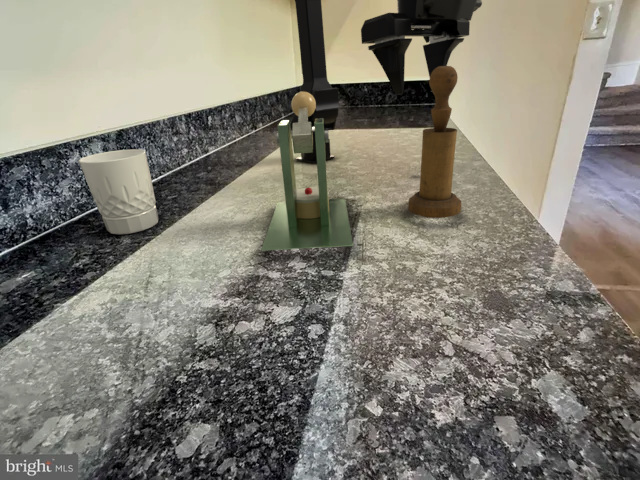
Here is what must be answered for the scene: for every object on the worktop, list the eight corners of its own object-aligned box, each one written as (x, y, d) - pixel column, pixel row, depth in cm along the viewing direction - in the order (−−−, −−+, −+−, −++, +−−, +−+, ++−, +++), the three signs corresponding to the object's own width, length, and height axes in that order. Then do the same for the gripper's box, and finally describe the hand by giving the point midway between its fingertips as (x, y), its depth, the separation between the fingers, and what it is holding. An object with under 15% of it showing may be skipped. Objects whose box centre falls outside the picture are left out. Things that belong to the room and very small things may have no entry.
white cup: (174, 217, 54) (158, 149, 50) (134, 239, 47) (111, 162, 43) (133, 214, 57) (114, 149, 52) (89, 234, 50) (63, 161, 46)
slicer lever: (293, 111, 50) (290, 88, 48) (316, 109, 50) (314, 86, 47) (290, 157, 42) (286, 132, 40) (317, 155, 42) (315, 130, 40)
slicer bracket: (278, 209, 54) (267, 116, 49) (345, 205, 54) (342, 111, 48) (262, 260, 40) (244, 135, 34) (353, 255, 40) (350, 128, 34)
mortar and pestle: (462, 210, 49) (478, 63, 42) (457, 228, 44) (474, 64, 37) (413, 206, 52) (419, 67, 44) (402, 222, 47) (407, 68, 39)
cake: (291, 206, 52) (289, 183, 50) (329, 204, 52) (328, 180, 50) (288, 220, 47) (285, 195, 45) (330, 218, 47) (329, 192, 45)
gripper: (423, -59, 40) (424, 92, 46) (506, -40, 51) (499, 82, 56) (354, -26, 49) (362, 98, 54) (437, -15, 59) (437, 88, 65)
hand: (418, 91), depth 57 cm, fingers open, 9 cm apart
